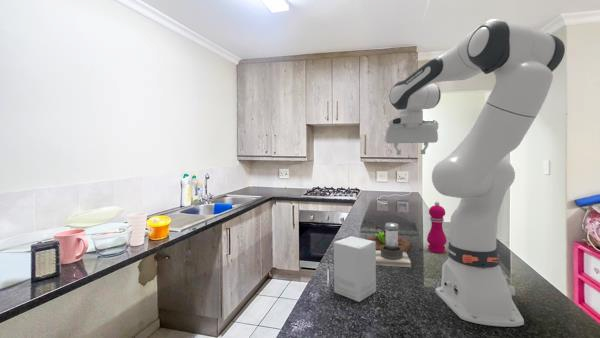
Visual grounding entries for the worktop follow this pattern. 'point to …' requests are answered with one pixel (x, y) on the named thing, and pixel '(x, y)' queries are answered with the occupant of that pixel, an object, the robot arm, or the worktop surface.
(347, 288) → the supplement box
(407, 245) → the plant
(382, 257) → the duct board
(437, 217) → the pepper mill
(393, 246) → the frosted cylinder in socket
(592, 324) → the worktop surface
